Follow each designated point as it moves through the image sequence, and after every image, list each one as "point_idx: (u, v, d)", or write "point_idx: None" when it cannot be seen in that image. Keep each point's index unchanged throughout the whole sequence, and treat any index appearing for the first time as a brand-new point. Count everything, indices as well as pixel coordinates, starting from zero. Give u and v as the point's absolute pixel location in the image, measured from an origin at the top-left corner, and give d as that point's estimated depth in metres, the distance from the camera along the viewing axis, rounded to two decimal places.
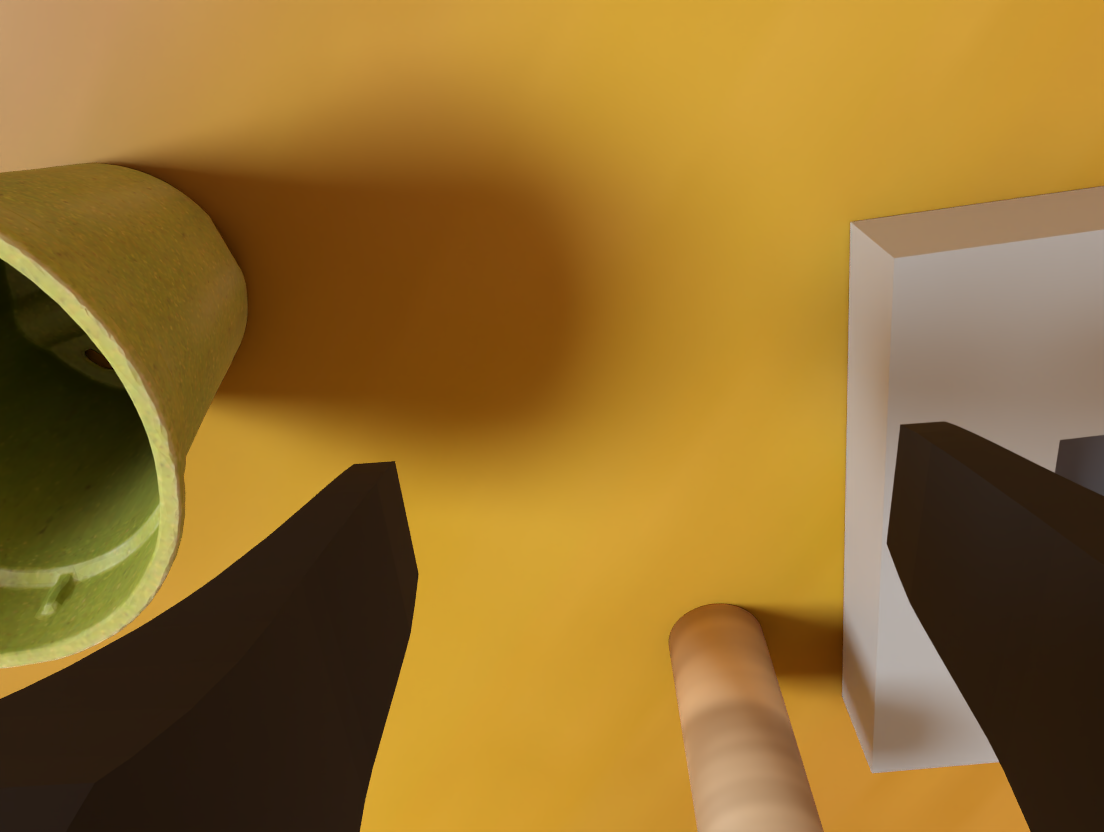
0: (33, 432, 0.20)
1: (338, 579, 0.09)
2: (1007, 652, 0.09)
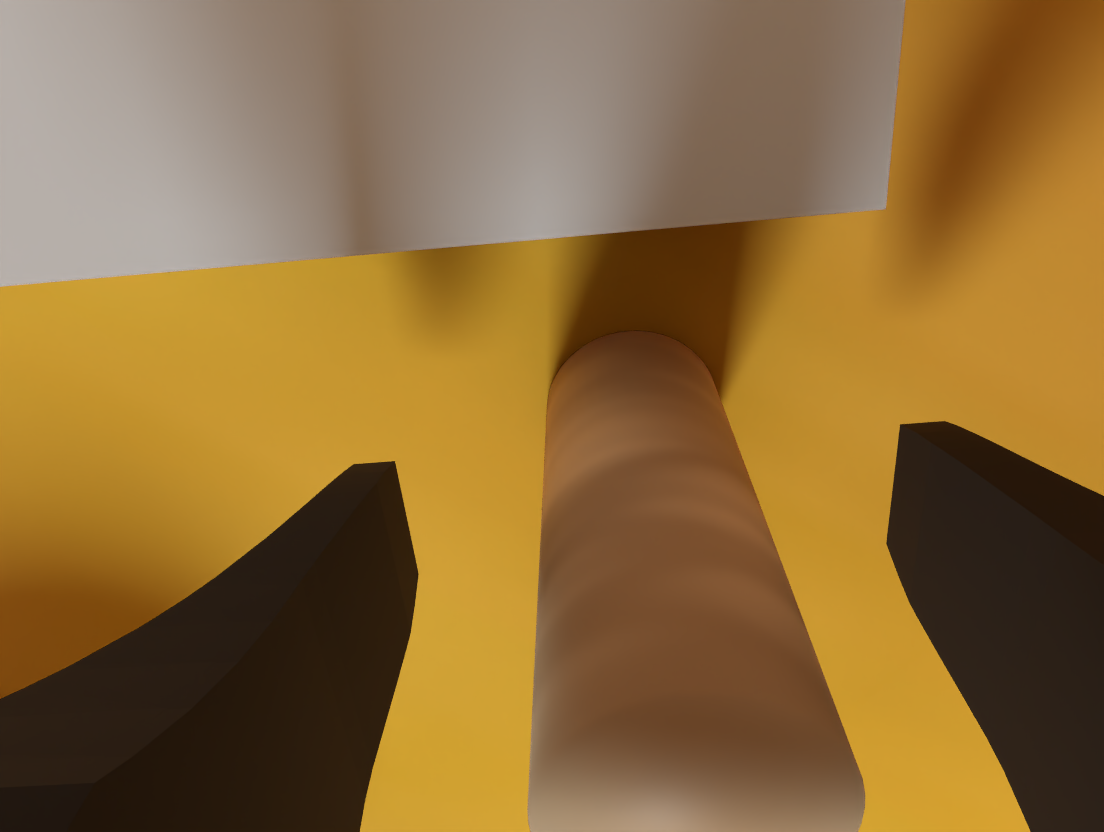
0: None
1: (338, 579, 0.09)
2: (1007, 652, 0.09)
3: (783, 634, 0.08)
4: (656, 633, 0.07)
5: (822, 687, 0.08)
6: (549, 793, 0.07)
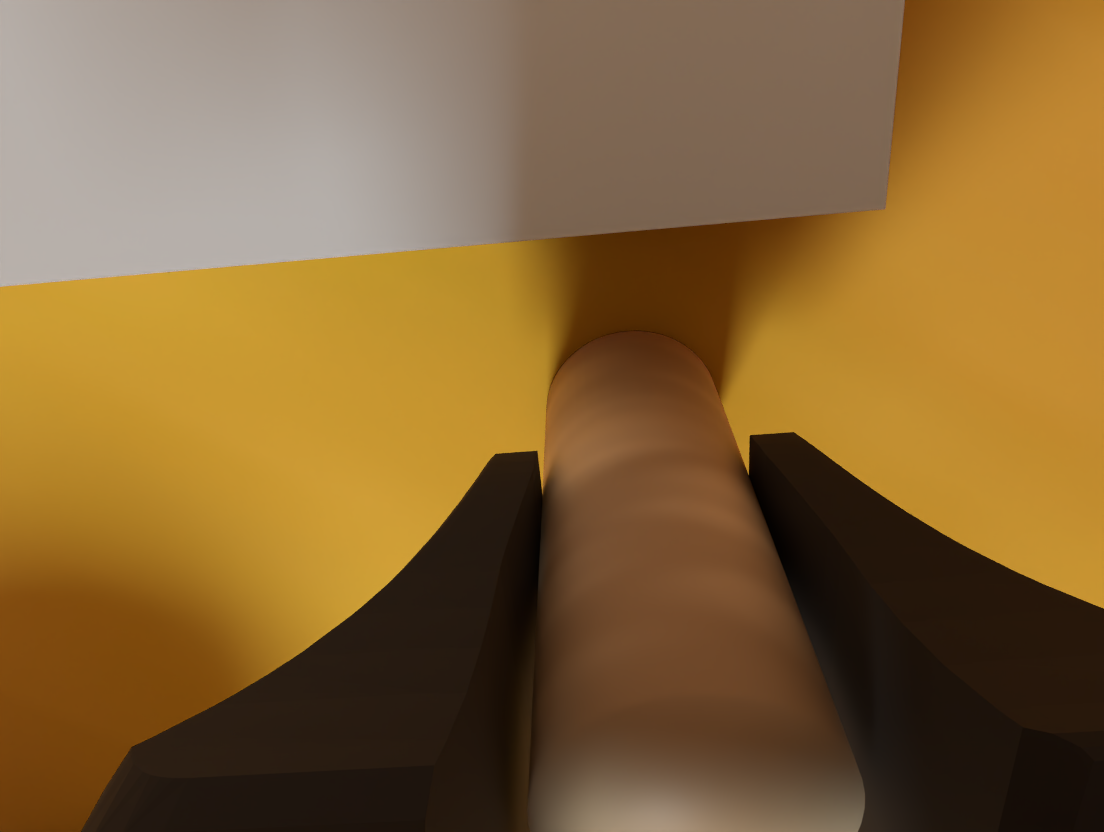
0: None
1: (516, 568, 0.09)
2: (819, 663, 0.09)
3: (784, 634, 0.08)
4: (657, 633, 0.07)
5: (822, 687, 0.07)
6: (548, 793, 0.07)
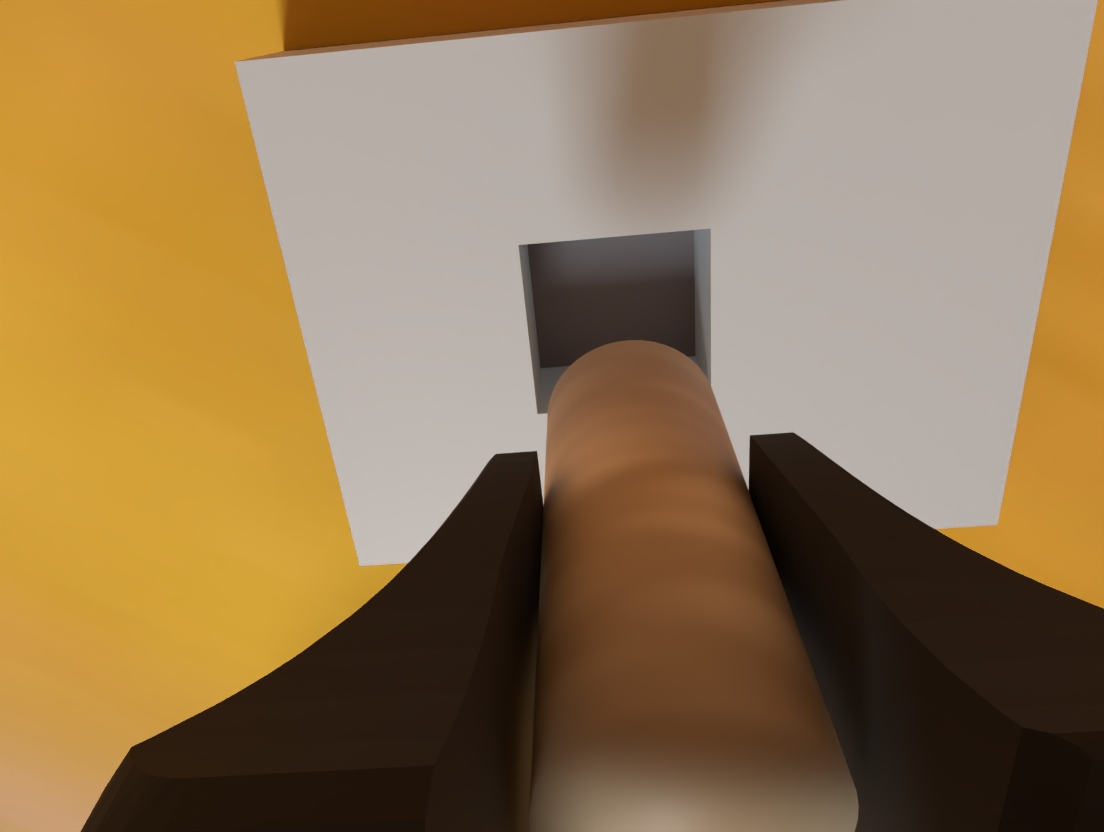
0: None
1: (516, 567, 0.09)
2: (819, 663, 0.09)
3: (767, 638, 0.08)
4: (640, 649, 0.08)
5: (808, 689, 0.08)
6: (547, 812, 0.07)
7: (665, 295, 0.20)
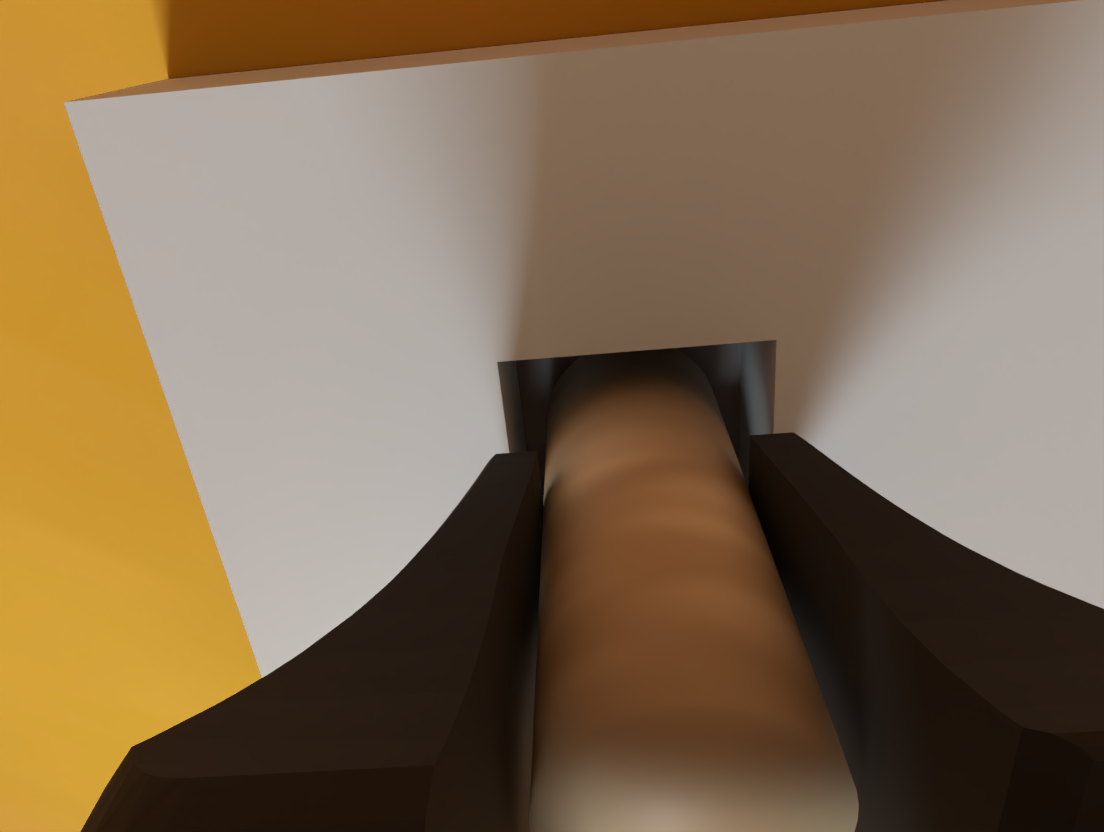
0: None
1: (516, 567, 0.09)
2: (819, 663, 0.09)
3: (767, 638, 0.08)
4: (640, 649, 0.08)
5: (808, 688, 0.08)
6: (548, 811, 0.07)
7: None
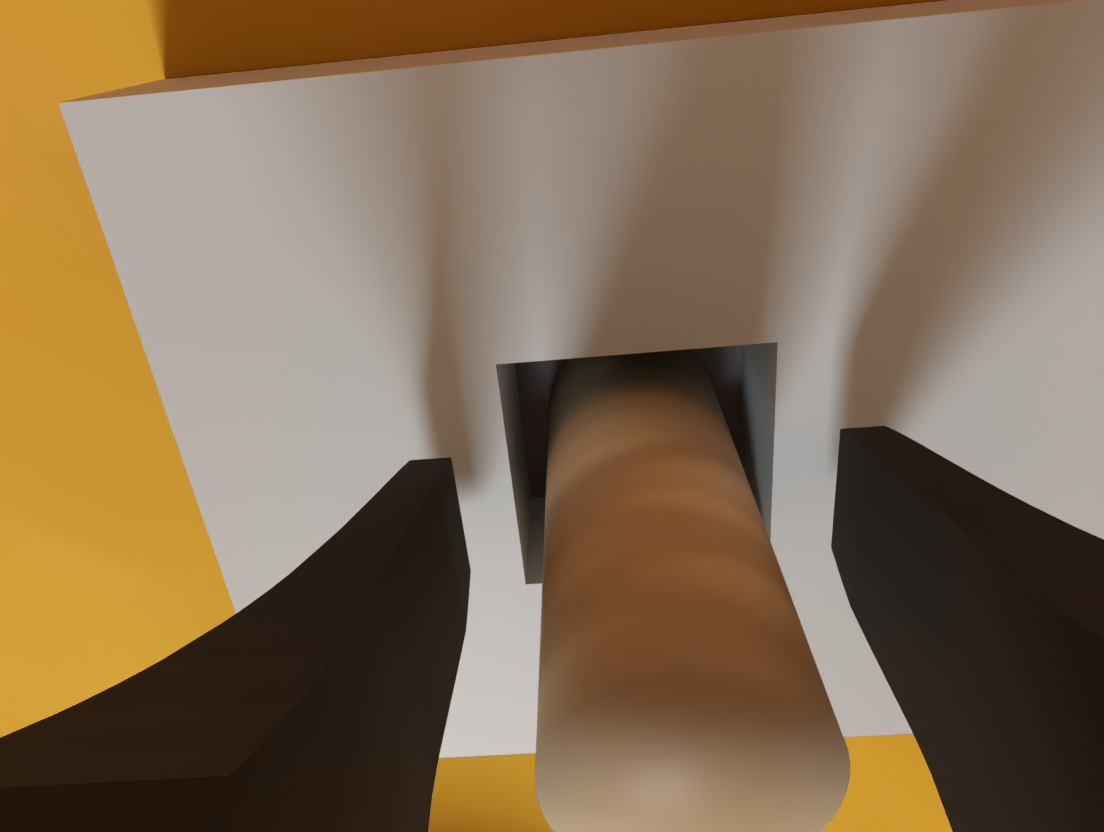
0: None
1: (408, 575, 0.09)
2: (932, 656, 0.09)
3: (762, 607, 0.08)
4: (640, 615, 0.08)
5: (802, 654, 0.08)
6: (552, 773, 0.08)
7: None
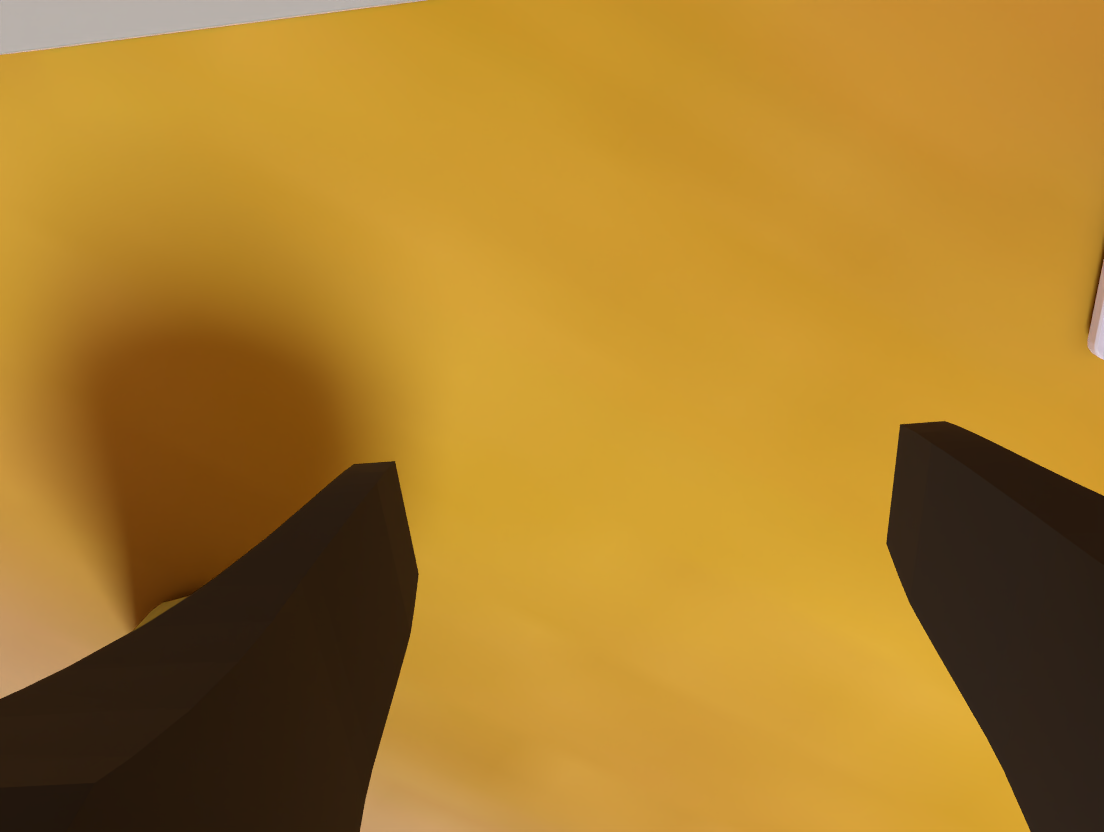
0: None
1: (338, 579, 0.09)
2: (1007, 652, 0.09)
3: None
4: None
5: None
6: None
7: None
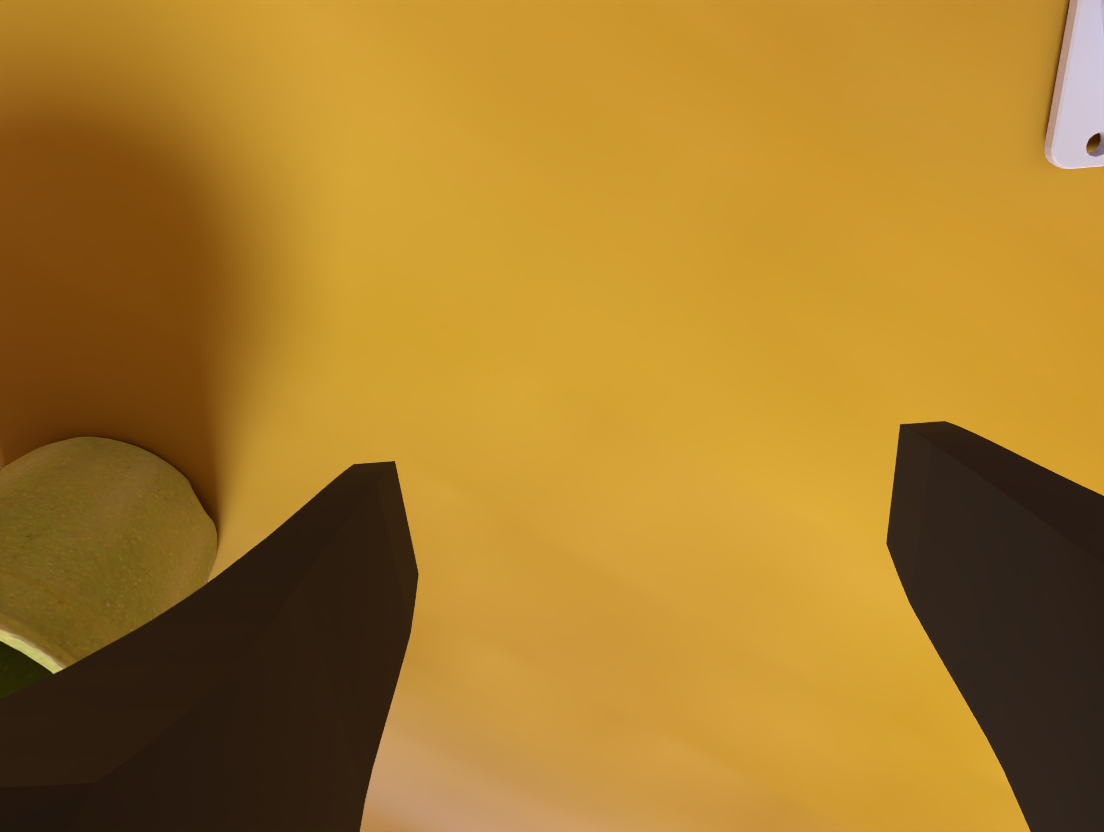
0: None
1: (338, 579, 0.09)
2: (1007, 652, 0.09)
3: None
4: None
5: None
6: None
7: None
